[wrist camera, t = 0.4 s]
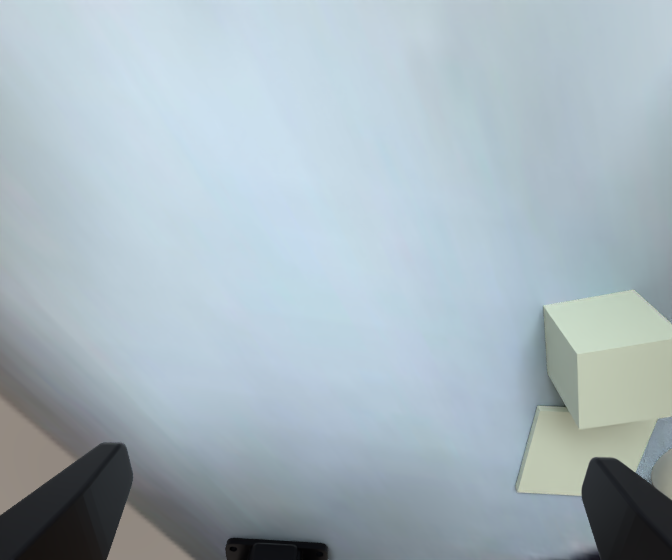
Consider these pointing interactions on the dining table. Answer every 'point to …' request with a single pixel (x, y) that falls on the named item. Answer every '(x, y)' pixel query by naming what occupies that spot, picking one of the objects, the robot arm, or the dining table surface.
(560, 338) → the sage cube
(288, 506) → the dining table surface
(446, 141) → the dining table surface
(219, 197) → the dining table surface
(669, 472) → the cream rounded cylinder
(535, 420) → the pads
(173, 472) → the dining table surface
